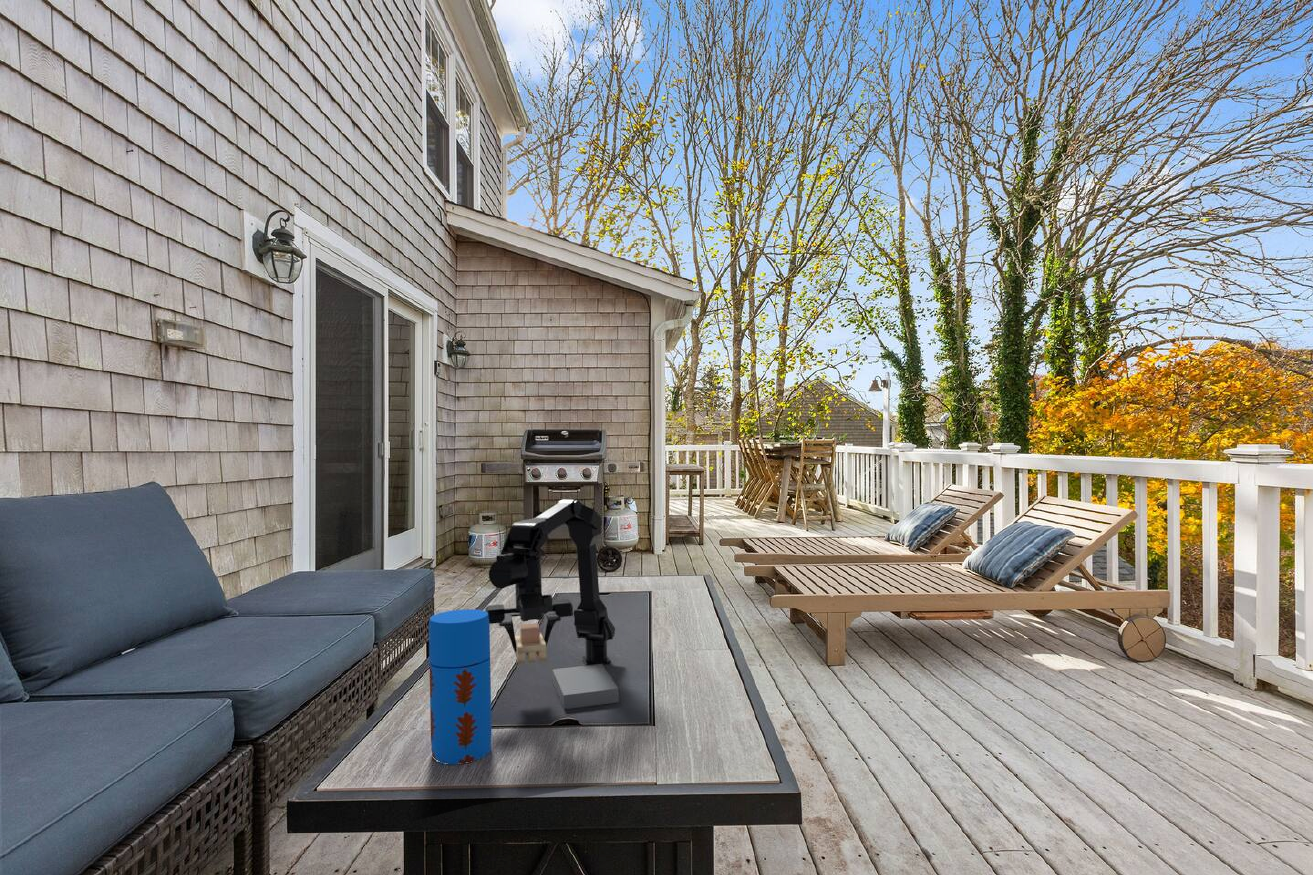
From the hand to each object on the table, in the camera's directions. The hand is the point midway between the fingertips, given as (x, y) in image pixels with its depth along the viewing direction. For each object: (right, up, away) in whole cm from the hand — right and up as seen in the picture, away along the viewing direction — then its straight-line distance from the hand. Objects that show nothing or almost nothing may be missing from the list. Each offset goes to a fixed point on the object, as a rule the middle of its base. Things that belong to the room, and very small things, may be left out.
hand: (530, 649), depth 150 cm
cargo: (0, +2, 0) cm, 2 cm away
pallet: (0, -1, 0) cm, 1 cm away
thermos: (-8, -11, -25) cm, 28 cm away
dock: (+11, -11, +5) cm, 17 cm away
